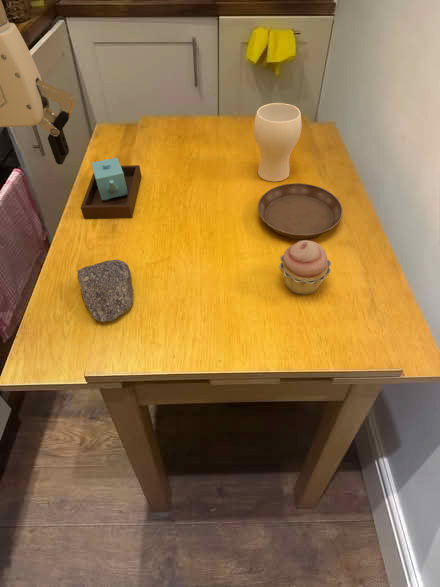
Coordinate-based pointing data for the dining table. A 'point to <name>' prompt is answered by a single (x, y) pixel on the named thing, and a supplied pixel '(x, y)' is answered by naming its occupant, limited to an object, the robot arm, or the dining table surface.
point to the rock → (106, 289)
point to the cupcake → (304, 267)
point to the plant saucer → (300, 210)
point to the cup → (276, 138)
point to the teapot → (109, 178)
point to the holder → (114, 206)
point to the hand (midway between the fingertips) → (27, 160)
